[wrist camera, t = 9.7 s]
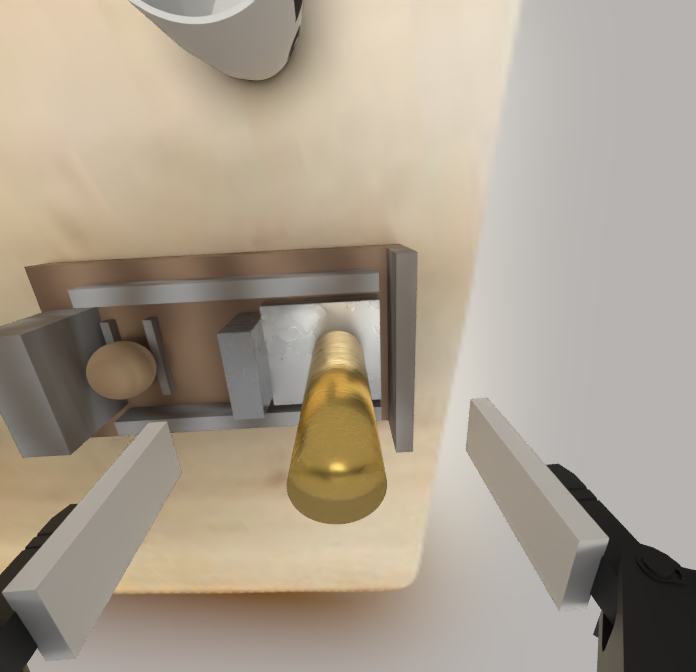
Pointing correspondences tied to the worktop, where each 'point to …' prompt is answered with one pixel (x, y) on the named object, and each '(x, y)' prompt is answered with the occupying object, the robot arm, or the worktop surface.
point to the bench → (186, 339)
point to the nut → (121, 370)
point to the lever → (315, 395)
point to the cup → (231, 32)
